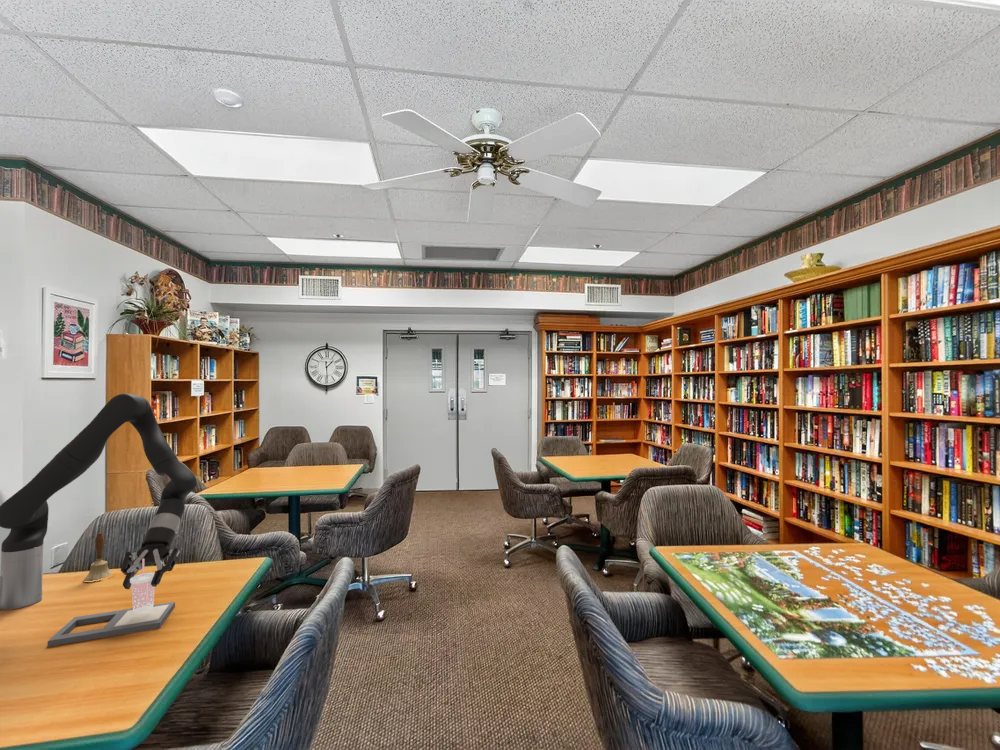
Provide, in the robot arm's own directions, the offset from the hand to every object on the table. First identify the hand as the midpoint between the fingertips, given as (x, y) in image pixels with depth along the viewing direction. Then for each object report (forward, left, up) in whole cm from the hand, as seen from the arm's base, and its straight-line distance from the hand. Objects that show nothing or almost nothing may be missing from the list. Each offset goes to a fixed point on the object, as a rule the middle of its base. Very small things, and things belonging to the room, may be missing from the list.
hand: (140, 586), depth 130 cm
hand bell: (-26, +48, -11) cm, 55 cm away
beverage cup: (0, +2, -7) cm, 7 cm away
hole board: (-6, +2, -10) cm, 12 cm away
